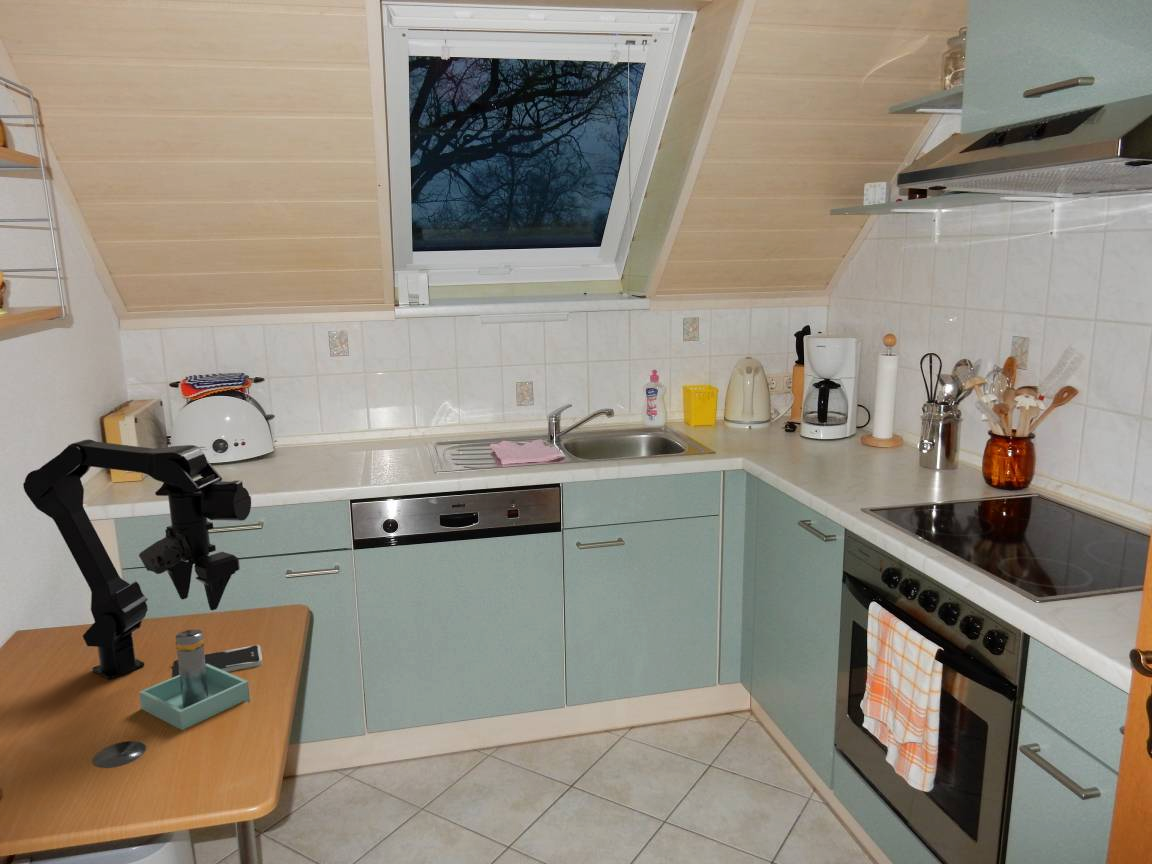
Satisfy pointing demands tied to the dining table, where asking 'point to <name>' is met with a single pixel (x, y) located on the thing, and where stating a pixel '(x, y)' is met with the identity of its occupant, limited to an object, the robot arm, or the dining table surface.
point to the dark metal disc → (119, 754)
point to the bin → (221, 696)
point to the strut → (192, 666)
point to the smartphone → (231, 659)
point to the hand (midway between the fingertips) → (198, 604)
